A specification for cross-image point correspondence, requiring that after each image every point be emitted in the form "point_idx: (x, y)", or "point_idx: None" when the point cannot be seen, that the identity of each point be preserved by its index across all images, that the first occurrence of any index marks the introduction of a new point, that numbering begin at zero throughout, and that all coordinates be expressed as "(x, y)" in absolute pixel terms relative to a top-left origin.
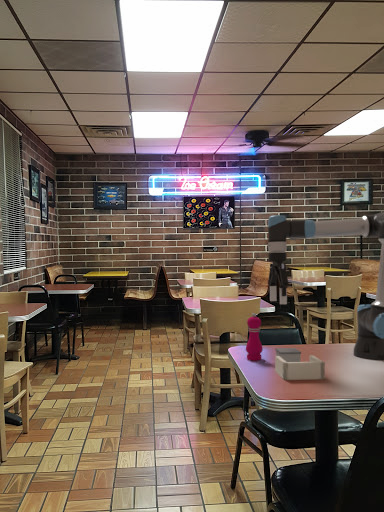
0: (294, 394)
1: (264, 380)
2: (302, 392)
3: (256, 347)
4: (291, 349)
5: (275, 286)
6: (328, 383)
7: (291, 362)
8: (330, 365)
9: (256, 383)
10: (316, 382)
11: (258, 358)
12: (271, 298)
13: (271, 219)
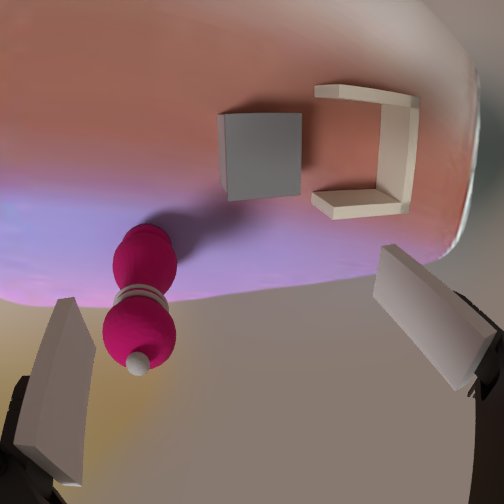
0: (449, 203)
1: (375, 243)
2: (446, 185)
3: (174, 265)
4: (254, 138)
5: (43, 449)
6: None
7: (406, 190)
8: (249, 3)
9: None
10: None
11: (168, 238)
12: (88, 359)
13: None
